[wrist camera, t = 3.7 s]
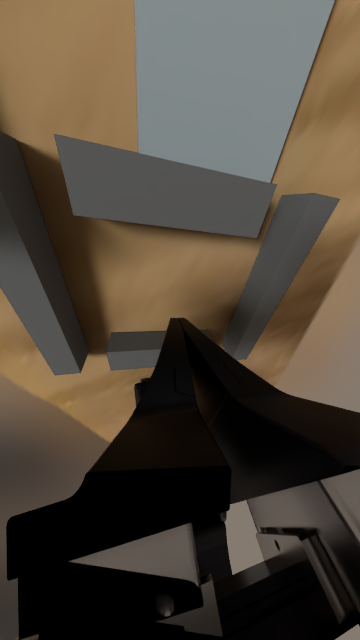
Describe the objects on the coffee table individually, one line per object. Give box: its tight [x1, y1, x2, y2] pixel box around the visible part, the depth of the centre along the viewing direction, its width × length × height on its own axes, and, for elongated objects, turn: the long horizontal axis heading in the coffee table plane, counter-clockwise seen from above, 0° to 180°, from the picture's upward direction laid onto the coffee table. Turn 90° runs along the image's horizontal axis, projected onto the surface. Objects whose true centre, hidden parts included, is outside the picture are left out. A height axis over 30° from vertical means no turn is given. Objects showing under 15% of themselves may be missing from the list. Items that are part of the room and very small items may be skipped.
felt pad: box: [135, 0, 335, 183], centre depth 7 cm, size 8×8×1 cm
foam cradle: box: [0, 131, 340, 375], centre depth 12 cm, size 14×19×2 cm
